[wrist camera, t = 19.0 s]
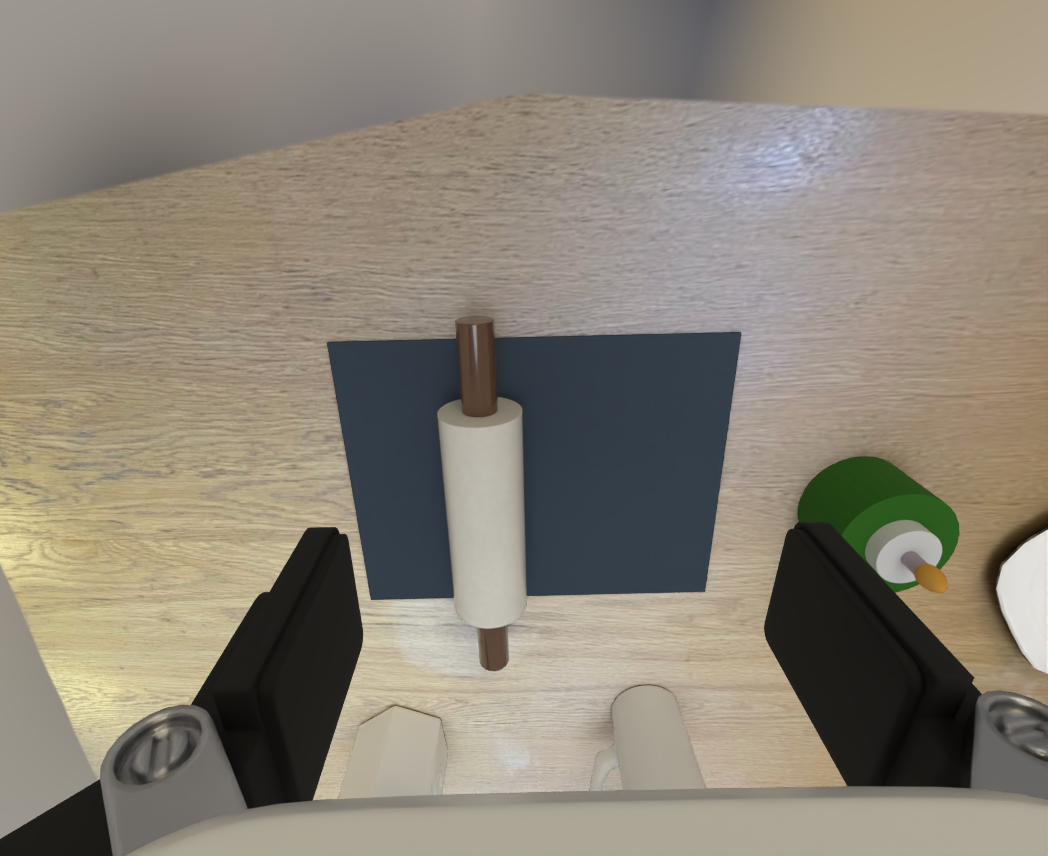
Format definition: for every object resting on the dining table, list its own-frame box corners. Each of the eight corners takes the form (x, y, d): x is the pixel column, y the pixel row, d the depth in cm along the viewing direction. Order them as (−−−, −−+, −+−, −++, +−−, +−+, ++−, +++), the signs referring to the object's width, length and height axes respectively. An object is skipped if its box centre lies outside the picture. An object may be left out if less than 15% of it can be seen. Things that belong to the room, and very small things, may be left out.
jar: (453, 764, 54) (437, 910, 43) (373, 770, 54) (336, 918, 43) (438, 700, 50) (417, 842, 39) (352, 707, 51) (307, 850, 40)
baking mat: (371, 598, 46) (370, 599, 45) (327, 342, 37) (326, 342, 37) (704, 590, 46) (705, 591, 45) (740, 332, 37) (741, 332, 37)
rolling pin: (476, 627, 48) (537, 642, 46) (448, 677, 43) (514, 696, 41) (453, 308, 36) (532, 312, 35) (411, 327, 32) (500, 333, 30)
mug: (663, 672, 49) (704, 810, 38) (691, 717, 52) (737, 859, 41) (564, 710, 51) (577, 853, 40) (596, 752, 54) (616, 897, 43)
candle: (776, 508, 42) (847, 596, 33) (865, 435, 40) (968, 508, 31) (839, 564, 45) (922, 661, 35) (927, 499, 42) (1040, 584, 33)
